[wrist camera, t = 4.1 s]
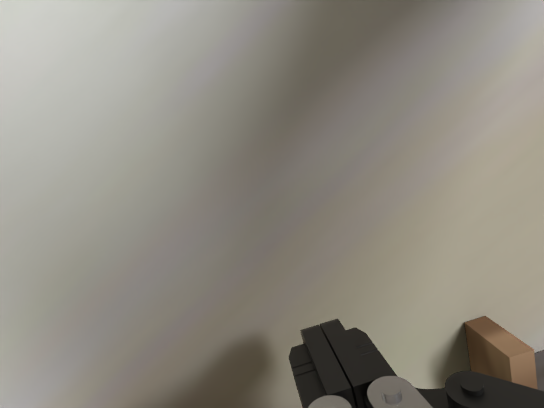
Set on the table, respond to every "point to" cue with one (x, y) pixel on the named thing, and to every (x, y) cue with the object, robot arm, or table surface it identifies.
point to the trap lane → (503, 354)
